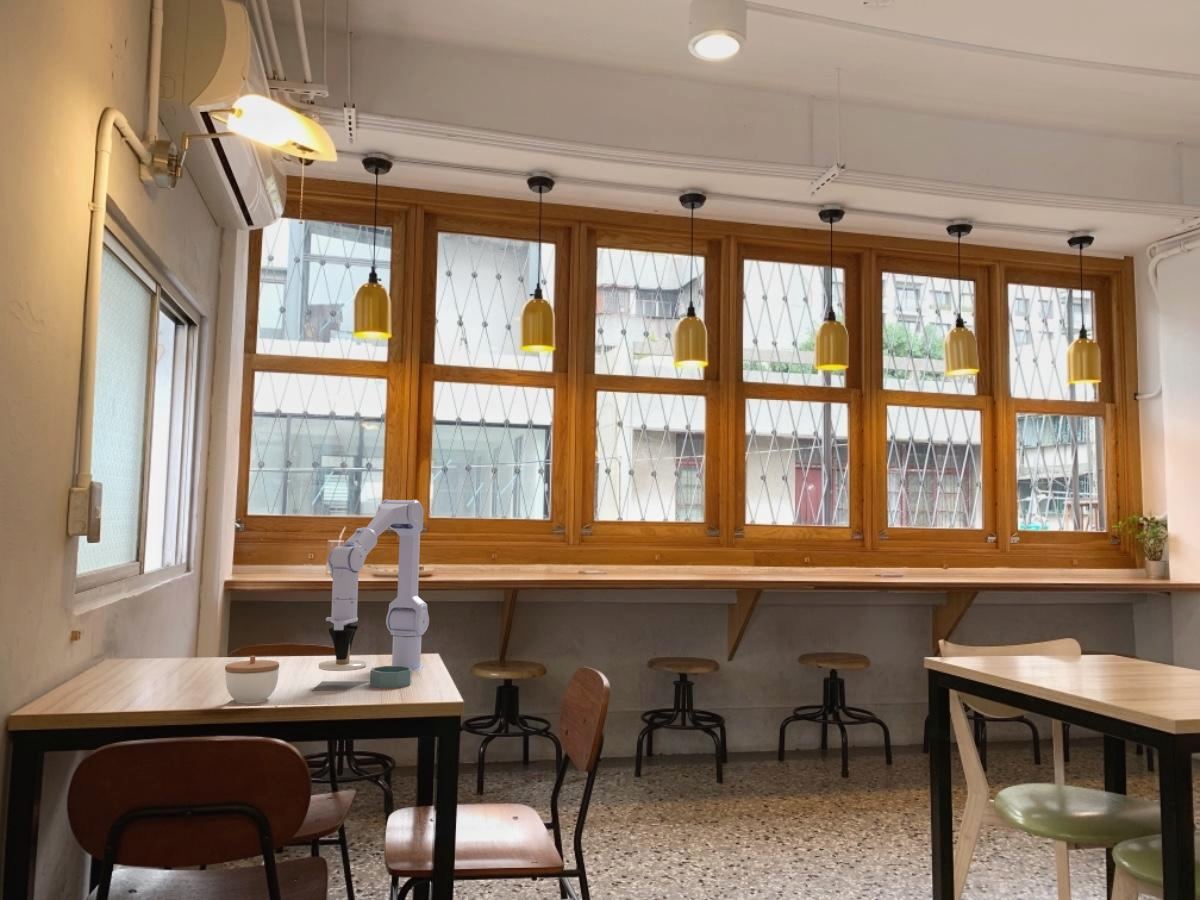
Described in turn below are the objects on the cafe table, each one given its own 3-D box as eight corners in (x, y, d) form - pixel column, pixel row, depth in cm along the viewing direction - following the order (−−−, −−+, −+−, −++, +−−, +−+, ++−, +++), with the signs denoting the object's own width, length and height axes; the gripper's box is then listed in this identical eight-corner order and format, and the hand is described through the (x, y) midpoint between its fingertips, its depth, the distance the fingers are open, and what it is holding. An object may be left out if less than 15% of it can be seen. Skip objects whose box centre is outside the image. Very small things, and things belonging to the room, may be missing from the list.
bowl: (373, 683, 215) (374, 665, 216) (412, 682, 216) (413, 665, 217) (368, 690, 206) (368, 672, 207) (408, 690, 207) (409, 672, 208)
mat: (321, 683, 214) (321, 681, 214) (369, 683, 215) (369, 681, 215) (311, 692, 203) (312, 690, 203) (362, 692, 204) (362, 690, 204)
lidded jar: (287, 696, 198) (288, 652, 198) (264, 706, 187) (265, 660, 188) (239, 695, 199) (241, 652, 199) (214, 705, 188) (215, 659, 189)
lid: (323, 663, 214) (324, 640, 215) (369, 663, 215) (369, 640, 216) (314, 671, 204) (315, 647, 204) (362, 671, 205) (363, 647, 205)
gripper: (332, 595, 217) (330, 653, 217) (320, 601, 203) (318, 663, 202) (363, 595, 218) (361, 653, 217) (353, 601, 204) (351, 663, 203)
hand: (342, 658), depth 210 cm, fingers closed on lid, 3 cm apart
